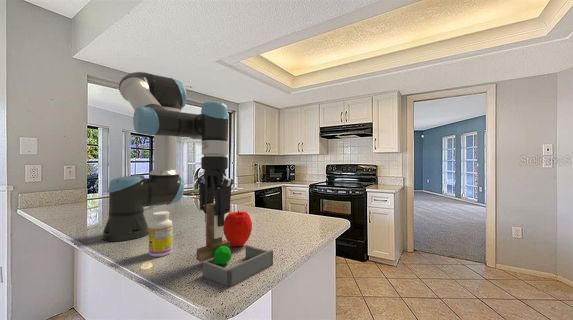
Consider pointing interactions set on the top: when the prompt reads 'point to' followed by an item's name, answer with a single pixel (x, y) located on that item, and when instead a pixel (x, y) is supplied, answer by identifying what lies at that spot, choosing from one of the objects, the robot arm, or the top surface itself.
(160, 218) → the supplement bottle
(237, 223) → the apple
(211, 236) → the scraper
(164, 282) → the top surface
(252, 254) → the tray
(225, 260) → the polyhedron
